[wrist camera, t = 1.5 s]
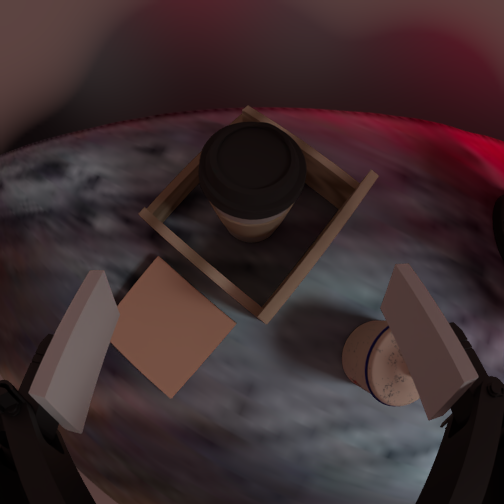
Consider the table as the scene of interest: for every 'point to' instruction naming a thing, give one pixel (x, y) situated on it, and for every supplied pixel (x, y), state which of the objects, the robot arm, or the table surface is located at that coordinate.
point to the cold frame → (346, 200)
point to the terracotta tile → (168, 327)
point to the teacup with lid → (378, 364)
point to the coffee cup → (252, 177)
